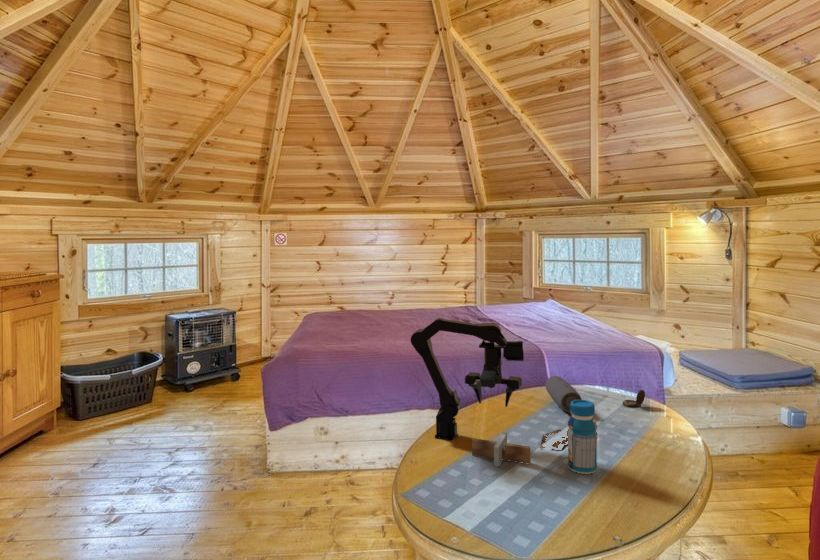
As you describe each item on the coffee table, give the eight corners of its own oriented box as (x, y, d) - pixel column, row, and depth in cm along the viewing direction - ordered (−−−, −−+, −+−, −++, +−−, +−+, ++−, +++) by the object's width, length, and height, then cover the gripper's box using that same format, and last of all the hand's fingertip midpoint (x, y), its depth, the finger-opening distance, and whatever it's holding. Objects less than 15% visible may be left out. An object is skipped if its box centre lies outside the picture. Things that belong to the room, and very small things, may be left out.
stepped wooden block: (472, 455, 153) (472, 440, 153) (473, 453, 155) (473, 438, 154) (529, 464, 146) (529, 448, 146) (530, 462, 147) (530, 446, 147)
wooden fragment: (555, 455, 152) (555, 452, 152) (526, 445, 160) (526, 442, 160) (595, 432, 169) (595, 429, 169) (566, 424, 178) (566, 421, 178)
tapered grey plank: (494, 466, 146) (493, 446, 145) (502, 450, 157) (502, 432, 156) (498, 466, 145) (498, 447, 145) (507, 450, 156) (507, 432, 155)
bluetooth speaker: (584, 415, 185) (584, 390, 184) (559, 416, 185) (559, 391, 184) (565, 396, 208) (565, 374, 207) (544, 397, 208) (544, 374, 207)
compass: (626, 401, 200) (626, 384, 199) (645, 406, 194) (646, 388, 193) (617, 406, 195) (617, 388, 194) (636, 411, 189) (637, 393, 188)
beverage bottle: (583, 477, 137) (583, 409, 135) (561, 466, 144) (561, 401, 143) (603, 470, 141) (604, 404, 139) (581, 459, 148) (581, 396, 147)
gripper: (459, 363, 160) (459, 408, 162) (514, 368, 153) (515, 416, 154) (469, 356, 170) (470, 398, 172) (522, 360, 163) (522, 405, 164)
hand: (493, 404), depth 165 cm, fingers open, 9 cm apart
